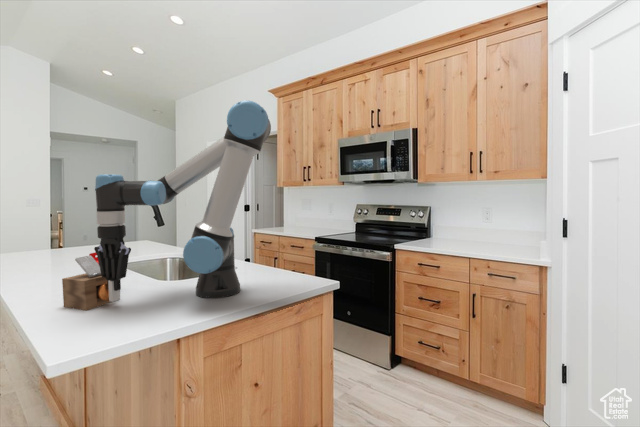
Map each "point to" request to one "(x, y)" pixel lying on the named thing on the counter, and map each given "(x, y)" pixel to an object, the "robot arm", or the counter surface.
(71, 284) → the block
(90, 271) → the plate
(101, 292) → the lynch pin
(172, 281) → the counter surface
